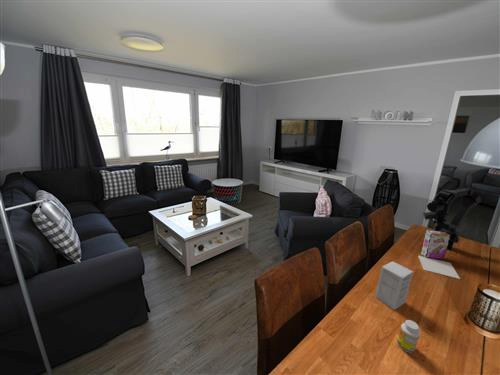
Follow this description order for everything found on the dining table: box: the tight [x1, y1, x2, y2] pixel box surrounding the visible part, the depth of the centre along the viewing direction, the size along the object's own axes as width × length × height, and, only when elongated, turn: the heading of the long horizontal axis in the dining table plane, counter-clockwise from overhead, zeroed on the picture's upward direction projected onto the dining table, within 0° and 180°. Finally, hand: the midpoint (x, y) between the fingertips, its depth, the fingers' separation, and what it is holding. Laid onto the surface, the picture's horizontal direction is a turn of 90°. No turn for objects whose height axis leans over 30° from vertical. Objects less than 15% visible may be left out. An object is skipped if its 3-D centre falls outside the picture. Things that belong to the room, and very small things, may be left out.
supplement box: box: [374, 261, 414, 311], centre depth 103 cm, size 10×9×17 cm
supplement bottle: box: [396, 319, 421, 354], centre depth 82 cm, size 6×6×10 cm
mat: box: [417, 255, 461, 280], centre depth 132 cm, size 16×16×1 cm
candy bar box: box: [420, 229, 450, 260], centre depth 140 cm, size 11×5×16 cm, turn 84°
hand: (435, 232), depth 146 cm, fingers closed
